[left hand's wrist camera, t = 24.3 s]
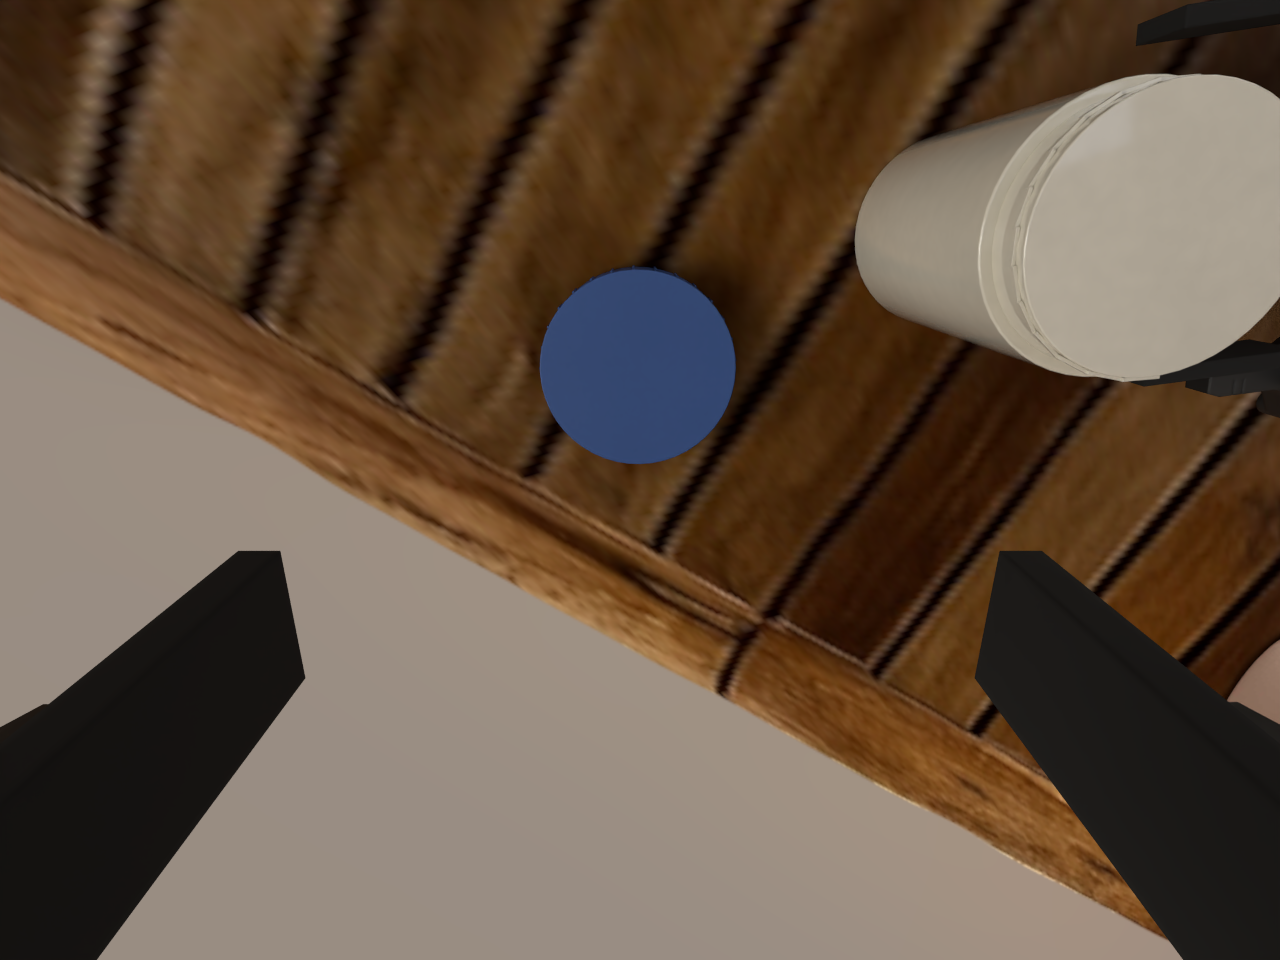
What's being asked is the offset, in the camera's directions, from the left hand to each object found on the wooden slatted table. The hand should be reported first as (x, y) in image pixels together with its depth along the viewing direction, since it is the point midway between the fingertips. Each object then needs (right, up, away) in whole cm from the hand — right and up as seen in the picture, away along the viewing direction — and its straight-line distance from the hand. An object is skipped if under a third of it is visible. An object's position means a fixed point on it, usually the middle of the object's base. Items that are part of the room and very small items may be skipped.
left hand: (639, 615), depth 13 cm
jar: (+16, +15, +23) cm, 32 cm away
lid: (0, +8, +23) cm, 25 cm away
